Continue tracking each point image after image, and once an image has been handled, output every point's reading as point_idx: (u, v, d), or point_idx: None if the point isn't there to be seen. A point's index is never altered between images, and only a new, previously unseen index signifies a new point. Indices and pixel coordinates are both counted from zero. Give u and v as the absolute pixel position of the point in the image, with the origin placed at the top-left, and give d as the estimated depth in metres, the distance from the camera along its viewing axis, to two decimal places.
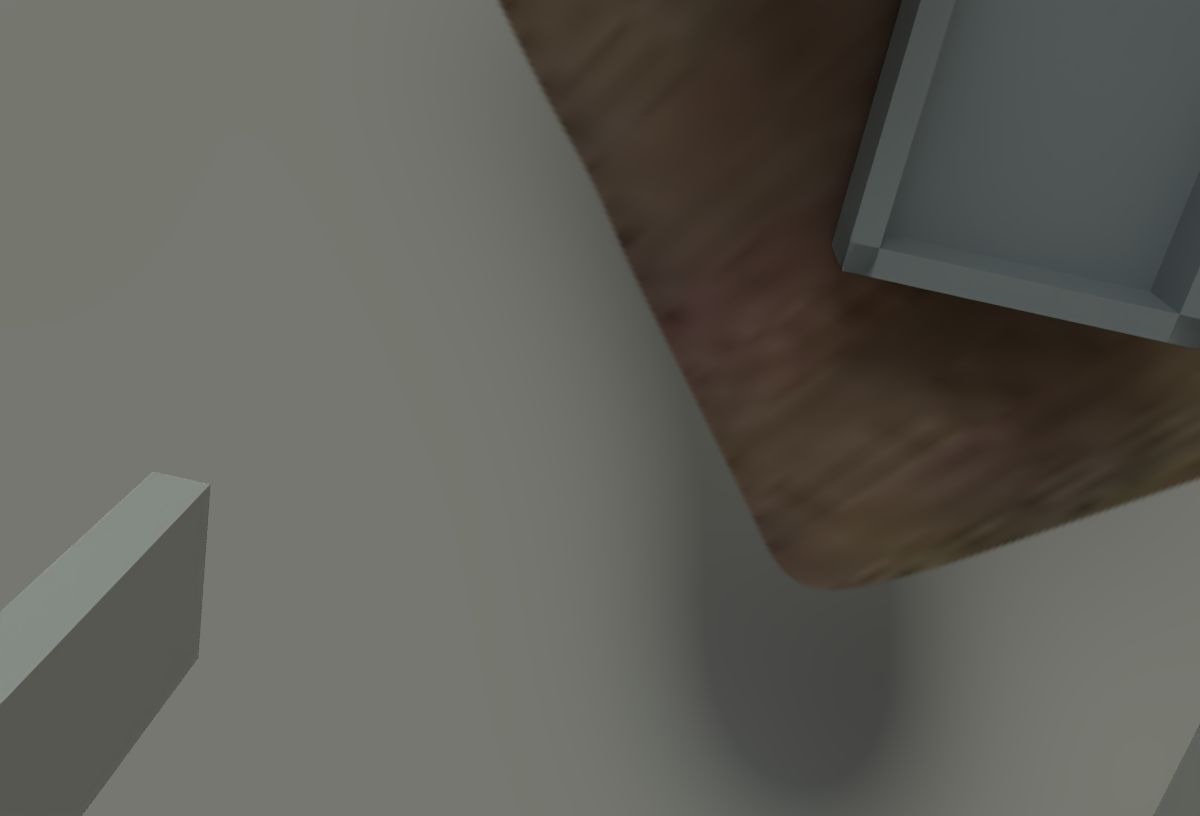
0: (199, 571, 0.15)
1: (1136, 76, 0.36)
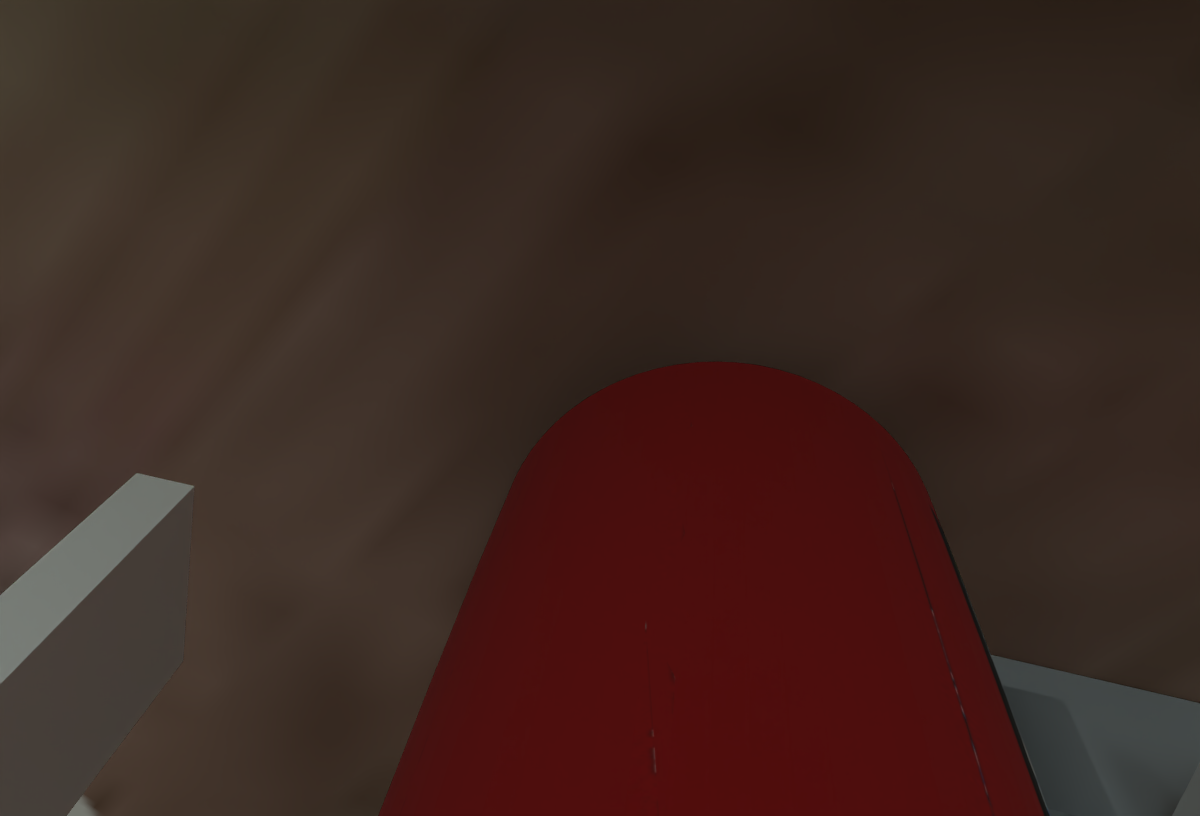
0: (184, 573, 0.14)
1: None
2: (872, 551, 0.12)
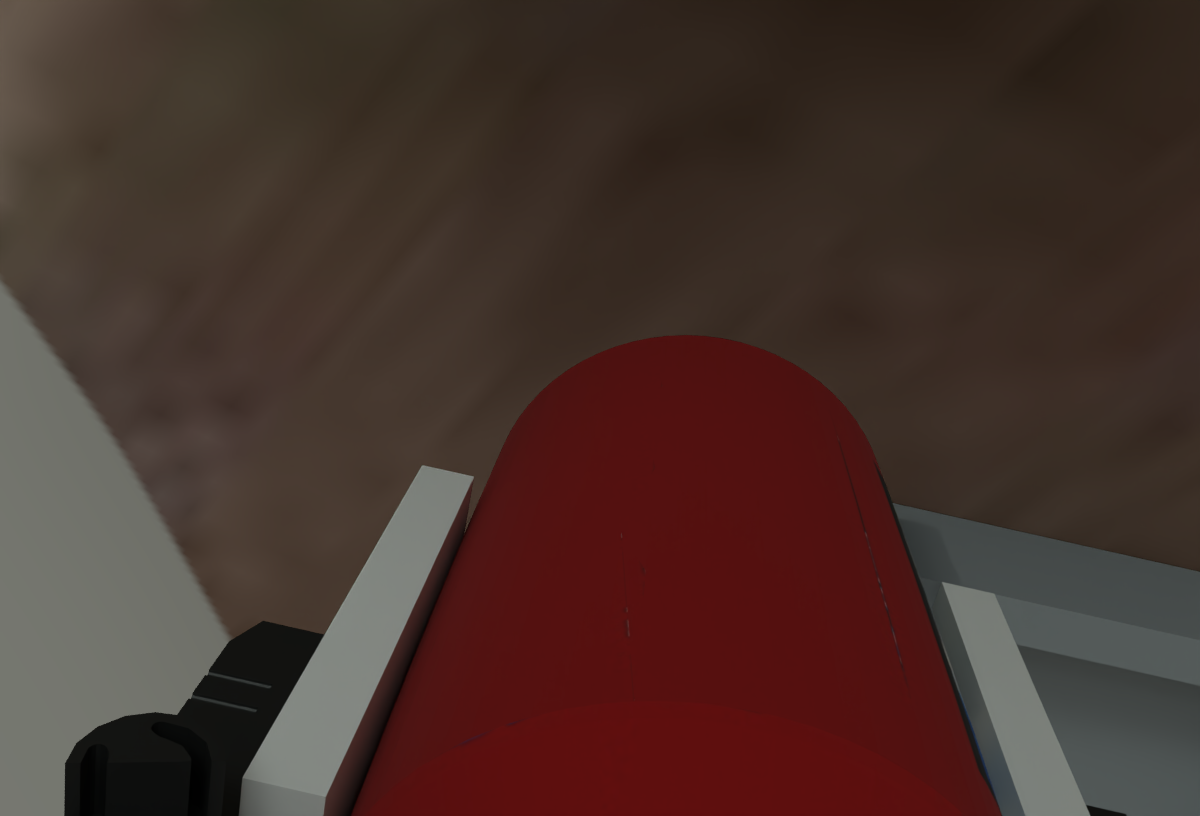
0: None
1: None
2: (815, 485, 0.13)
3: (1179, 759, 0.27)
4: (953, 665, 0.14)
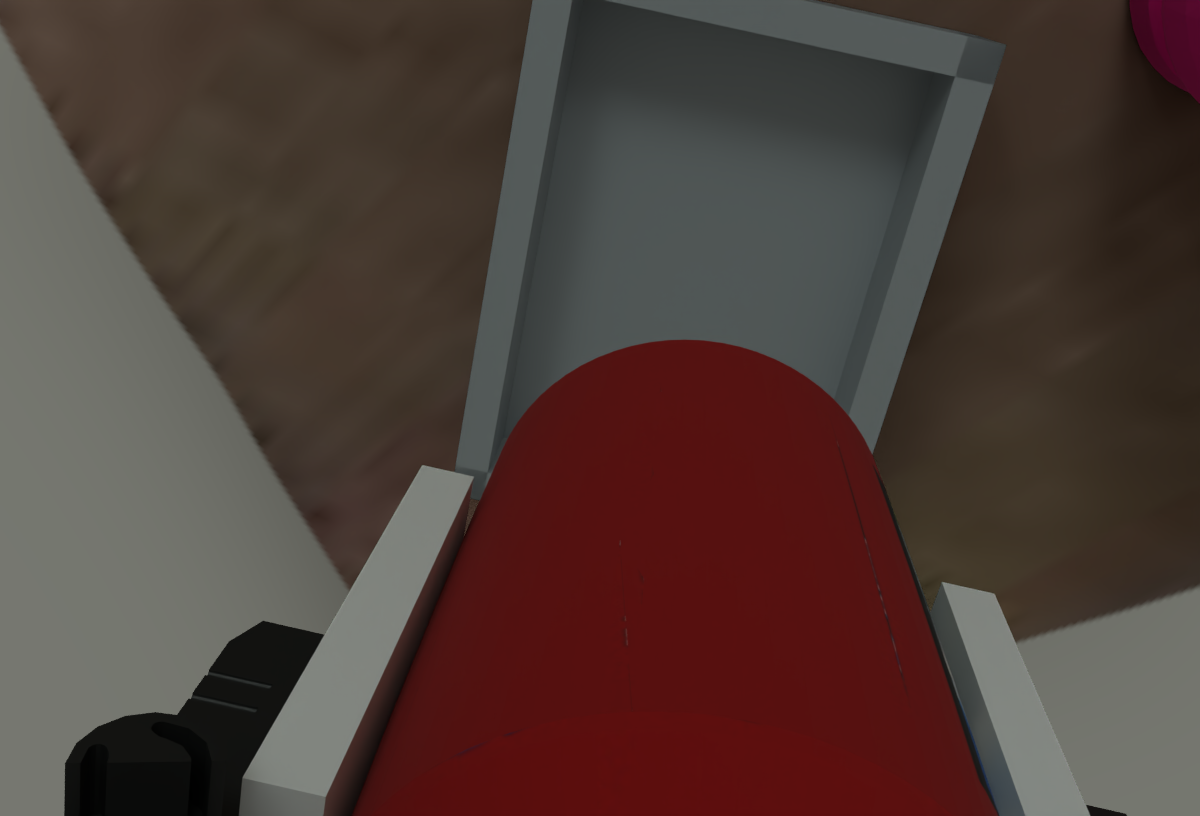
0: None
1: (761, 289, 0.34)
2: (815, 491, 0.13)
3: (805, 168, 0.33)
4: (953, 665, 0.14)
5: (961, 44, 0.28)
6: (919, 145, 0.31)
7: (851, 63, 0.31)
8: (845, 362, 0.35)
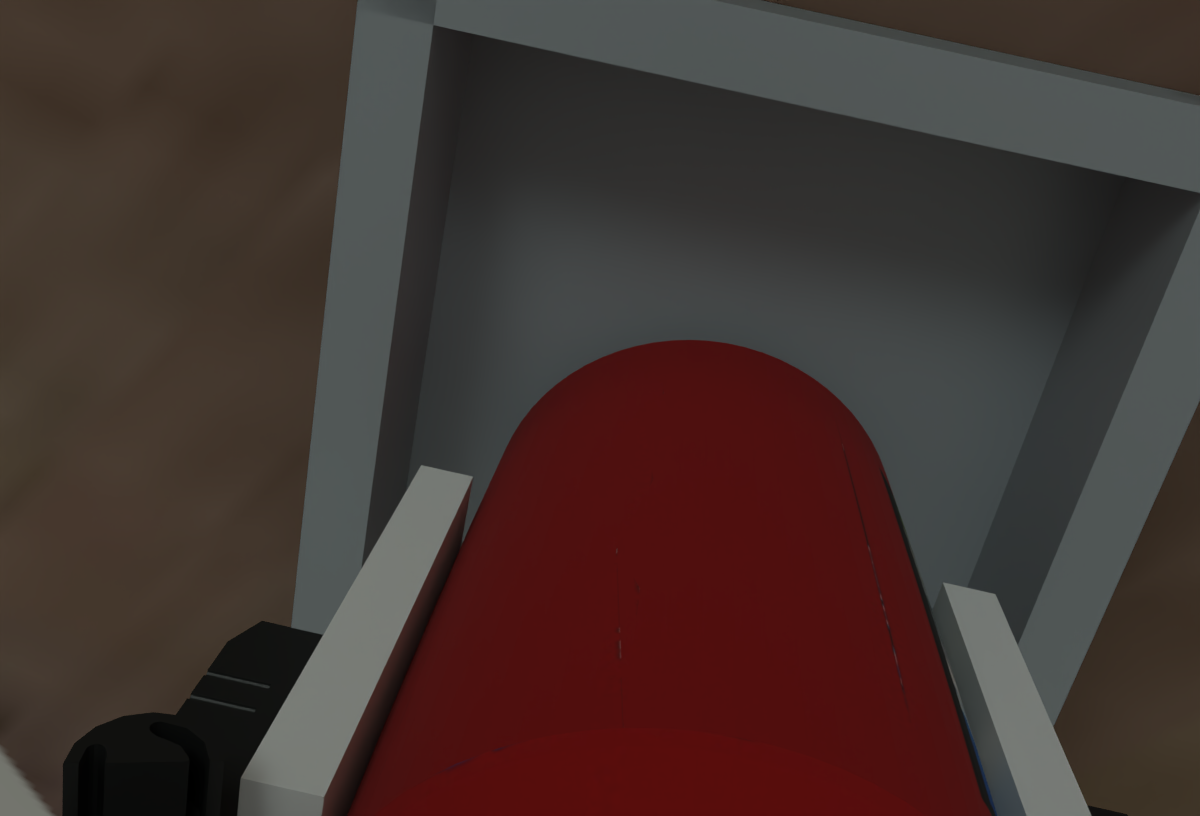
0: None
1: None
2: (818, 497, 0.13)
3: (883, 333, 0.18)
4: (955, 666, 0.14)
5: None
6: (1103, 306, 0.16)
7: (973, 150, 0.17)
8: None
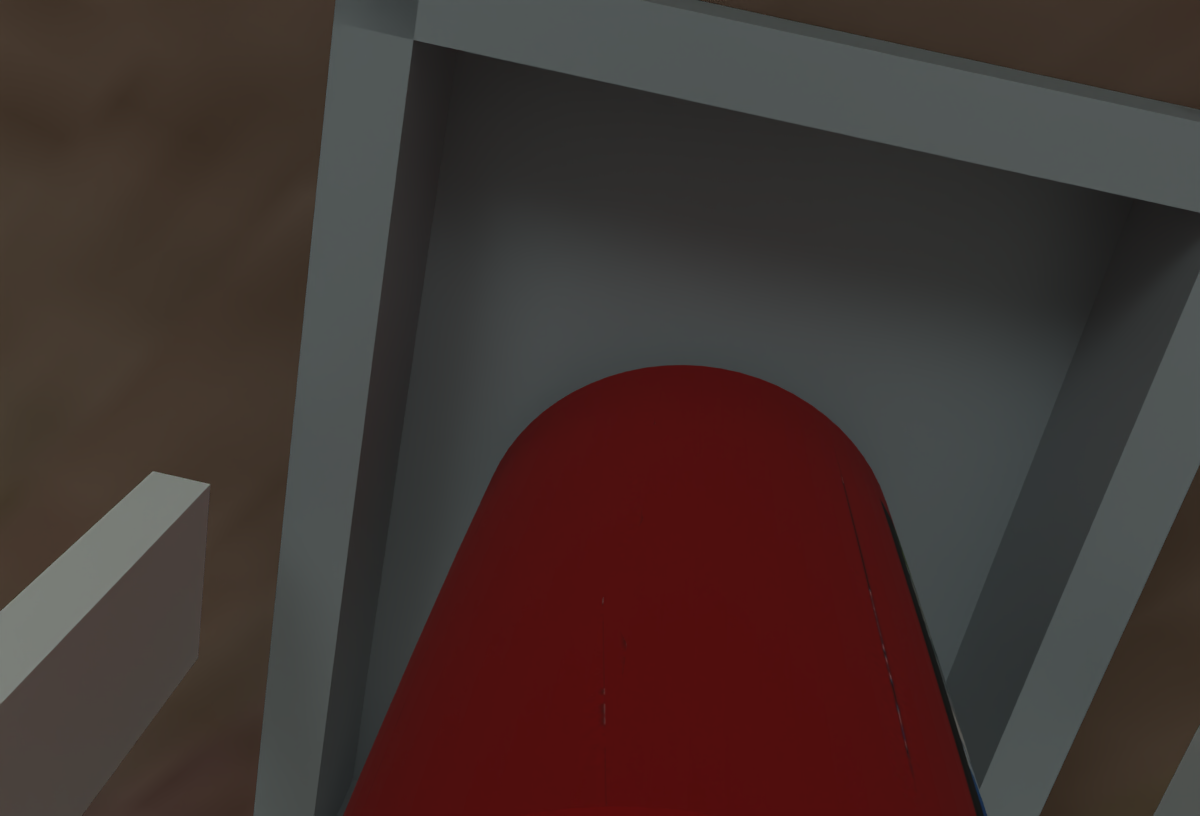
0: (199, 571, 0.15)
1: None
2: (817, 537, 0.13)
3: (883, 358, 0.17)
4: None
5: None
6: (1112, 331, 0.16)
7: (977, 168, 0.16)
8: None
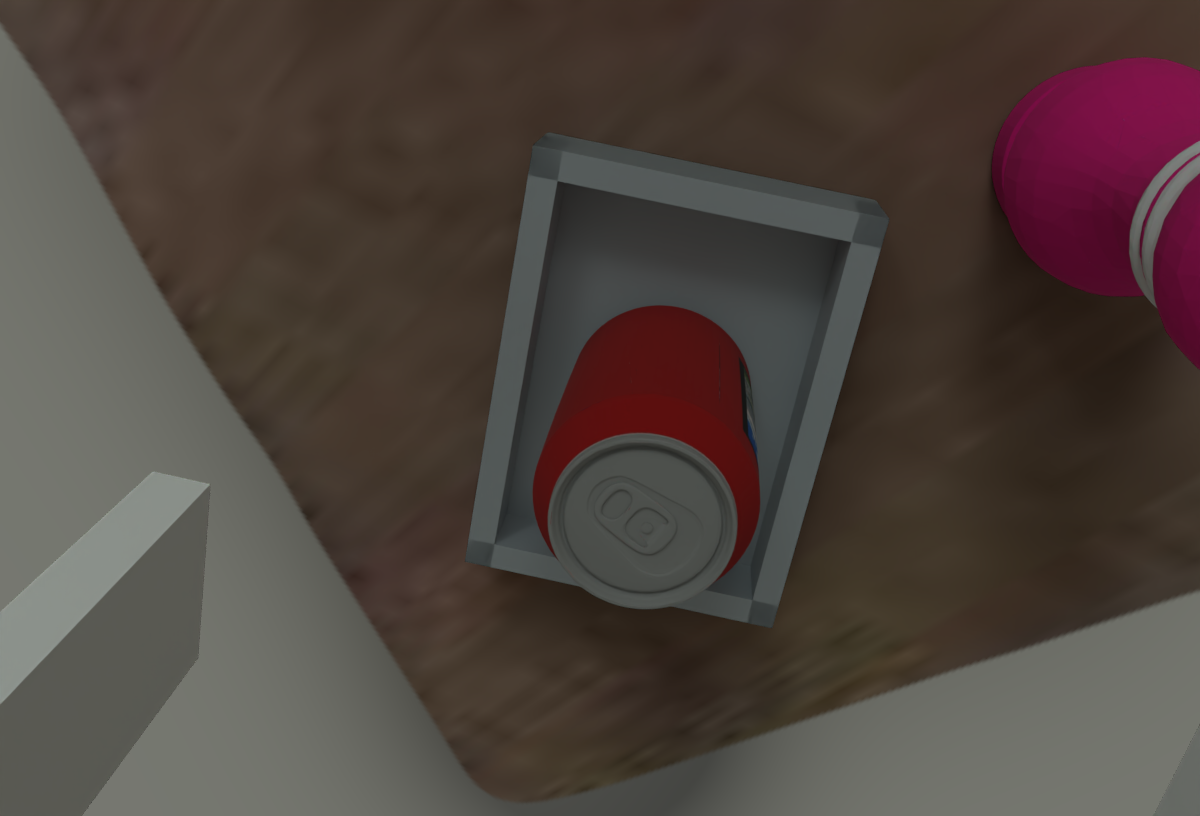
0: (199, 571, 0.15)
1: None
2: (702, 354, 0.36)
3: (744, 302, 0.41)
4: None
5: (855, 218, 0.37)
6: (830, 287, 0.40)
7: None
8: (781, 452, 0.43)
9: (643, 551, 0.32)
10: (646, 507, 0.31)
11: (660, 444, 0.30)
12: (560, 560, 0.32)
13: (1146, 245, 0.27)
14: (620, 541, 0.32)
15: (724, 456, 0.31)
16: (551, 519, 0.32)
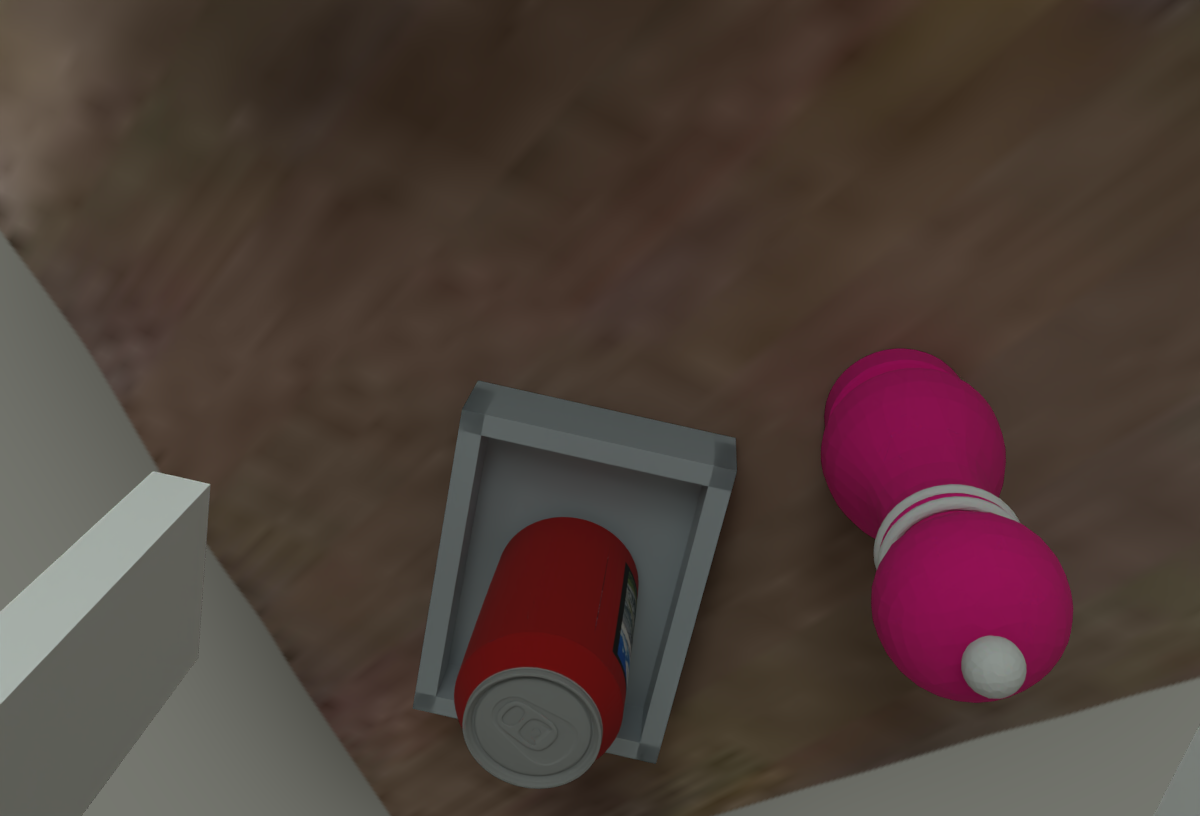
0: (199, 571, 0.15)
1: None
2: (590, 576, 0.47)
3: (633, 513, 0.52)
4: None
5: (710, 469, 0.48)
6: (698, 509, 0.50)
7: None
8: (665, 624, 0.54)
9: (534, 747, 0.43)
10: (534, 718, 0.42)
11: (543, 678, 0.41)
12: (472, 753, 0.43)
13: (879, 566, 0.38)
14: (517, 741, 0.43)
15: (593, 681, 0.42)
16: (464, 725, 0.43)
